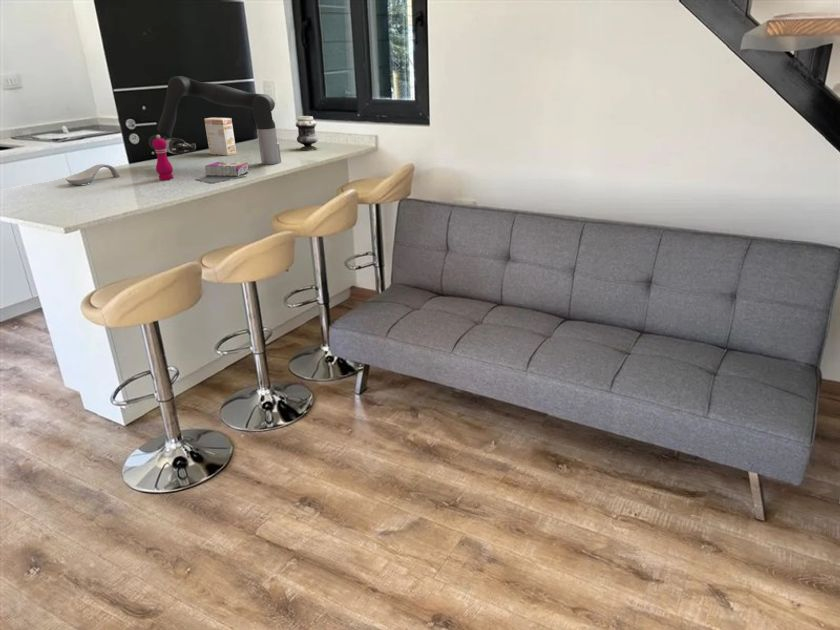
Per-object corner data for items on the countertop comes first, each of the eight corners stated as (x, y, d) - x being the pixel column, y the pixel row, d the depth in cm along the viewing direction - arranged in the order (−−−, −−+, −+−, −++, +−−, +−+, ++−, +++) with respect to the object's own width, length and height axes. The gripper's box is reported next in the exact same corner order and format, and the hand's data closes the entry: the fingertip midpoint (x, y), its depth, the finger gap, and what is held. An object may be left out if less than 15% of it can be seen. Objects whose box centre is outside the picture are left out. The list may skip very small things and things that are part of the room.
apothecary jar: (316, 150, 351) (313, 117, 344) (295, 151, 351) (292, 118, 344) (320, 147, 362) (317, 115, 355) (299, 147, 362) (296, 115, 355)
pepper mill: (178, 177, 289) (169, 133, 281) (167, 180, 283) (158, 135, 274) (165, 177, 291) (156, 133, 283) (154, 180, 285) (145, 135, 277)
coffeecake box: (237, 153, 349) (231, 118, 341) (227, 155, 343) (221, 119, 335) (219, 152, 356) (213, 117, 348) (209, 154, 351) (203, 118, 343)
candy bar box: (216, 161, 296) (247, 161, 293) (218, 171, 298) (249, 172, 295) (204, 165, 286) (236, 165, 283) (206, 176, 288) (238, 176, 285)
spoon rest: (77, 188, 275) (73, 172, 272) (62, 186, 280) (58, 170, 277) (124, 178, 293) (121, 162, 290) (109, 176, 299) (105, 161, 296)
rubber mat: (230, 173, 295) (229, 172, 294) (246, 176, 286) (246, 176, 286) (195, 179, 283) (195, 179, 283) (211, 183, 274) (211, 182, 274)
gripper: (161, 140, 301) (178, 142, 290) (186, 136, 309) (204, 139, 298) (164, 155, 304) (181, 158, 293) (189, 151, 312) (206, 154, 301)
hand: (193, 148), depth 296 cm, fingers closed
